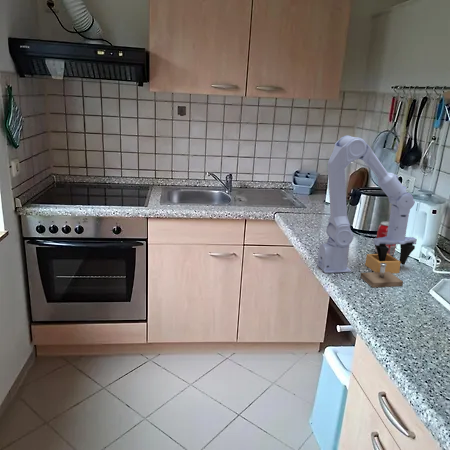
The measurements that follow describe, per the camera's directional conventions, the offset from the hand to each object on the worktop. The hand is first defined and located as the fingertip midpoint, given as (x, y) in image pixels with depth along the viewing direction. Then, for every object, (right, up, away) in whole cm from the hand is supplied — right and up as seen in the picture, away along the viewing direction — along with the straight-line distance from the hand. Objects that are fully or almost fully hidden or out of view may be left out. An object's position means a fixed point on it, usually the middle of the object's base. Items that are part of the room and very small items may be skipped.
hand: (391, 264), depth 143 cm
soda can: (+3, +2, +15) cm, 15 cm away
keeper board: (-8, -5, -11) cm, 14 cm away
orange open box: (-3, -2, 0) cm, 4 cm away
